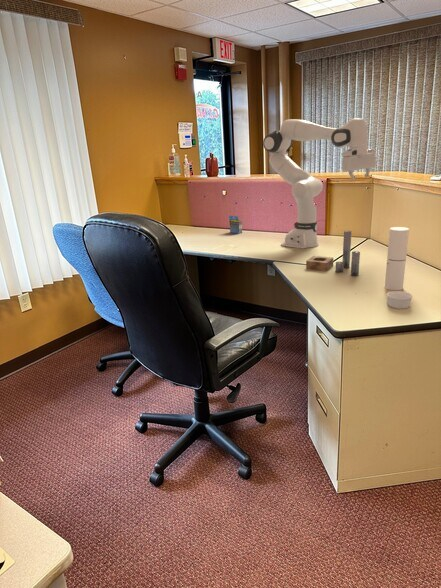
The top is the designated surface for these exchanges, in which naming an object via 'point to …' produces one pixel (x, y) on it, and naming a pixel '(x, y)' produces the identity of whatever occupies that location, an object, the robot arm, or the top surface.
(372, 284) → the top surface
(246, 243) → the top surface
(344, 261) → the tall steel pin
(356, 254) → the medium steel pin
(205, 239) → the top surface
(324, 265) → the walnut collar block
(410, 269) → the top surface
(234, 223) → the label tape cartridge
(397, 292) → the ramekin
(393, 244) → the cylindrical container
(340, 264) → the short steel pin
